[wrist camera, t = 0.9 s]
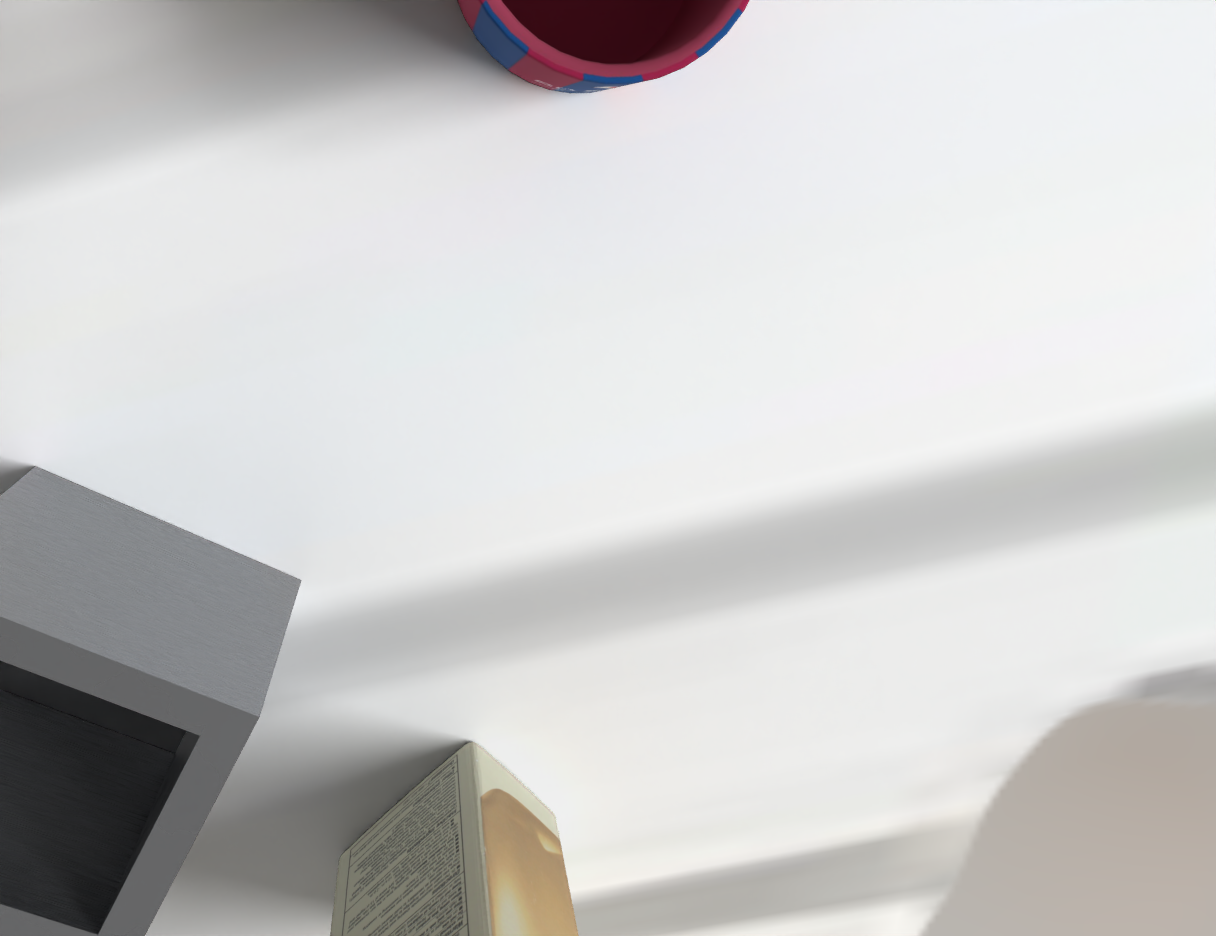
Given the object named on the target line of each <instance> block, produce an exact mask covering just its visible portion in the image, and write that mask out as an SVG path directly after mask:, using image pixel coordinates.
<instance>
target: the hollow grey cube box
mask: <svg viewBox="0 0 1216 936" xmlns="http://www.w3.org/2000/svg"><path fill="white" fill-rule="evenodd" d="M300 583H301V580H300V579H297V578H295V577H293V576H290V575H288V574H286V573H283V572H281V571H279V570H276V569H274V568H272V567H269V566H267V565H265V564H262V563H260V562H258V561H255V560H253V559H251V558H248V557H246V556H244V555H241V554H239V553H237V552H234V551H232V550H230V549H227V548H225V547H223V546H220V545H218V544H216V543H213V542H211V541H209V540H206V539H204V538H202V537H199V536H197V535H195V534H192V533H190V532H188V531H185V530H183V529H181V528H178V527H176V526H174V525H171V524H169V523H167V522H164V521H162V520H160V519H157V518H155V517H153V516H150V515H148V514H146V513H143V512H141V511H139V510H136V509H134V508H132V507H129V506H127V505H125V504H122V503H120V502H118V501H115V500H113V499H111V498H108V497H106V496H104V495H101V494H99V493H97V492H94V491H92V490H90V489H87V488H85V487H83V486H80V485H78V484H76V483H73V482H71V481H69V480H66V479H64V478H62V477H59V476H57V475H55V474H52V473H50V472H48V471H45V470H43V469H41V468H38V467H36V466H35V467H34V468H33V469H31V470H30V471H29V472H28V473H27V474H25V475H24V476H23V477H22V478H21V479H20V480H18V481H17V482H16V483H15V484H14V485H12V486H11V487H10V488H9V489H8V490H6V491H5V492H4V493H3V494H2V495H0V661H3V662H5V663H8V664H11V665H13V666H16V667H19V668H21V669H24V670H27V671H29V672H32V673H35V674H37V675H40V676H43V677H45V678H48V679H51V680H53V681H56V682H58V683H61V684H64V685H66V686H69V687H72V688H74V689H77V690H80V691H82V692H85V693H88V694H90V695H93V696H96V697H98V698H101V699H104V700H106V701H109V702H112V703H114V704H117V705H120V706H122V707H125V708H127V709H130V710H133V711H135V712H138V713H141V714H143V715H146V716H149V717H151V718H154V719H157V720H159V721H162V722H165V723H167V724H170V725H173V726H175V727H178V728H181V729H183V730H186V733H185V735H184V736H183V738H182V740H181V742H180V744H179V746H178V748H177V750H176V752H175V754H174V753H171V752H169V751H166V750H163V749H160V748H158V747H155V746H152V745H150V744H147V743H144V742H141V741H139V740H136V739H133V738H131V737H128V736H125V735H123V734H120V733H117V732H114V731H112V730H109V729H106V728H104V727H101V726H98V725H95V724H93V723H90V722H87V721H85V720H82V719H79V718H77V717H74V716H71V715H68V714H66V713H63V712H60V711H58V710H55V709H52V708H50V707H47V706H44V705H41V704H39V703H36V702H33V701H31V700H28V699H25V698H22V697H20V696H17V695H14V694H12V693H9V692H6V691H4V690H1V689H0V936H145V934H146V932H147V930H148V928H149V926H150V924H151V923H152V921H153V919H154V917H155V915H156V913H157V911H158V909H159V907H160V905H161V904H162V902H163V900H164V898H165V896H166V894H167V892H168V890H169V888H170V886H171V884H172V883H173V881H174V879H175V877H176V875H177V873H178V871H179V869H180V867H181V865H182V864H183V862H184V860H185V858H186V856H187V854H188V852H189V850H190V848H191V846H192V844H193V843H194V841H195V839H196V837H197V835H198V833H199V831H200V829H201V827H202V825H203V824H204V822H205V820H206V818H207V816H208V814H209V812H210V810H211V808H212V806H213V804H214V803H215V801H216V799H217V797H218V795H219V793H220V791H221V789H222V787H223V785H224V784H225V782H226V780H227V778H228V776H229V774H230V772H231V770H232V768H233V766H234V764H235V763H236V761H237V759H238V757H239V755H240V753H241V751H242V749H243V747H244V745H245V743H246V742H247V740H248V738H249V736H250V734H251V732H252V730H253V728H254V726H255V724H256V723H257V721H258V719H259V717H260V713H261V710H262V707H263V704H264V700H265V697H266V694H267V691H268V687H269V684H270V681H271V678H272V674H273V671H274V668H275V665H276V661H277V658H278V655H279V652H280V648H281V645H282V642H283V638H284V635H285V632H286V629H287V625H288V622H289V619H290V616H291V612H292V609H293V606H294V603H295V599H296V596H297V593H298V590H299V586H300Z"/></svg>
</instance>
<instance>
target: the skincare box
mask: <svg viewBox="0 0 1216 936" xmlns="http://www.w3.org/2000/svg"><path fill="white" fill-rule="evenodd" d="M330 936H578V931H577V926H576V921H575V915H574V910H573V905H572V901H571V895H570V890H569V886H568V880H567V875H566V870H565V865H564V859H563V854H562V848H561V843H560V838H559V833H558V828H557V823H556V817H555V815H554V813H553V812H552V811H551V810H550V809H549V808H548V807H547V806H545V805H544V804H543V803H542V802H541V801H540V800H539V799H538V798H537V797H536V796H535V795H534V794H533V793H532V792H531V791H530V790H529V789H528V788H526V787H525V786H524V785H523V784H522V783H521V782H520V781H519V780H518V779H517V778H516V777H515V776H514V775H512V774H511V773H510V772H509V771H508V770H507V769H506V768H505V767H504V766H502V765H501V764H500V763H499V762H498V761H497V760H496V759H495V758H493V757H492V756H491V755H490V754H489V753H488V752H487V751H485V750H484V749H483V748H482V747H481V746H479V745H478V744H477V743H475V742H470V743H467V744H466V745H464V746H463V747H462V748H461V749H459V750H458V751H457V752H456V753H455V754H453V755H452V756H451V757H450V758H448V759H447V760H446V761H445V762H444V763H443V764H442V765H440V766H439V767H438V768H437V769H435V770H434V771H433V772H432V773H431V774H430V775H429V776H427V777H426V778H425V779H424V780H423V781H422V782H421V783H419V784H418V785H417V786H416V787H415V788H414V789H413V790H411V791H410V792H409V793H408V794H407V795H406V796H405V797H404V798H403V799H401V800H400V801H399V802H398V803H397V804H396V805H395V806H394V807H392V808H391V809H390V810H389V811H388V812H387V813H386V814H385V815H384V816H383V817H382V818H380V819H379V820H378V821H377V822H376V823H375V824H374V825H373V826H372V827H371V828H370V829H369V830H367V831H366V832H365V833H364V834H363V835H362V836H361V837H360V838H359V839H358V840H357V841H356V842H355V843H354V844H353V845H352V846H351V847H350V848H348V849H347V850H346V851H345V852H344V853H343V854H342V855H341V856H340V859H339V864H338V872H337V882H336V889H335V898H334V908H333V915H332V924H331V933H330Z"/></svg>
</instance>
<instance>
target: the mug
mask: <svg viewBox="0 0 1216 936" xmlns="http://www.w3.org/2000/svg"><path fill="white" fill-rule="evenodd" d="M457 1H458V3H459V6H460V8H461V11H462V13H463V16H464V18H465V20H466V22H467V23H468V25H469V27H470V28H471V30H472V31H473V33H474V35H475V36H476V38H477V40H478V41H479V42H480V43H481V44H482V45H483V47H484V48H485V49H486V50H487V51H488V52H489V54H490V55H491V56H492V57H493V58H494V59H496V60H497V61H498V62H499V63H500V64H502V65H503V66H504V67H505V68H506V69H508V70H509V71H510V72H512V73H514V74H515V75H517V76H519V77H521V78H522V79H524V80H526V81H528V82H529V83H532V84H535V85H538V86H541V87H543V88H546V89H549V90H555V91H561V92H567V93H592V92H597V91H602V90H606V89H611V88H615V87H620V86H625V85H629V84H634V83H638V82H643V81H648V80H652V79H657V78H660V77H662V76H665V75H667V74H670V73H672V72H674V71H677V70H679V69H682V68H684V67H685V66H687V65H688V64H690V63H691V62H693V61H695V60H696V59H698V58H699V57H701V56H702V55H704V54H705V53H707V52H708V51H709V50H710V49H711V48H712V47H713V46H714V45H715V44H716V43H717V42H718V41H719V40H721V39H722V38H723V37H724V36H725V35H726V34H727V33H728V31H729V30H730V29H731V27H732V26H733V25H734V23H735V22H736V21H737V19H738V18H739V17H740V15H741V14H742V13H743V11H744V10H745V8H746V6H747V4H748V2H749V0H457Z"/></svg>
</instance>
